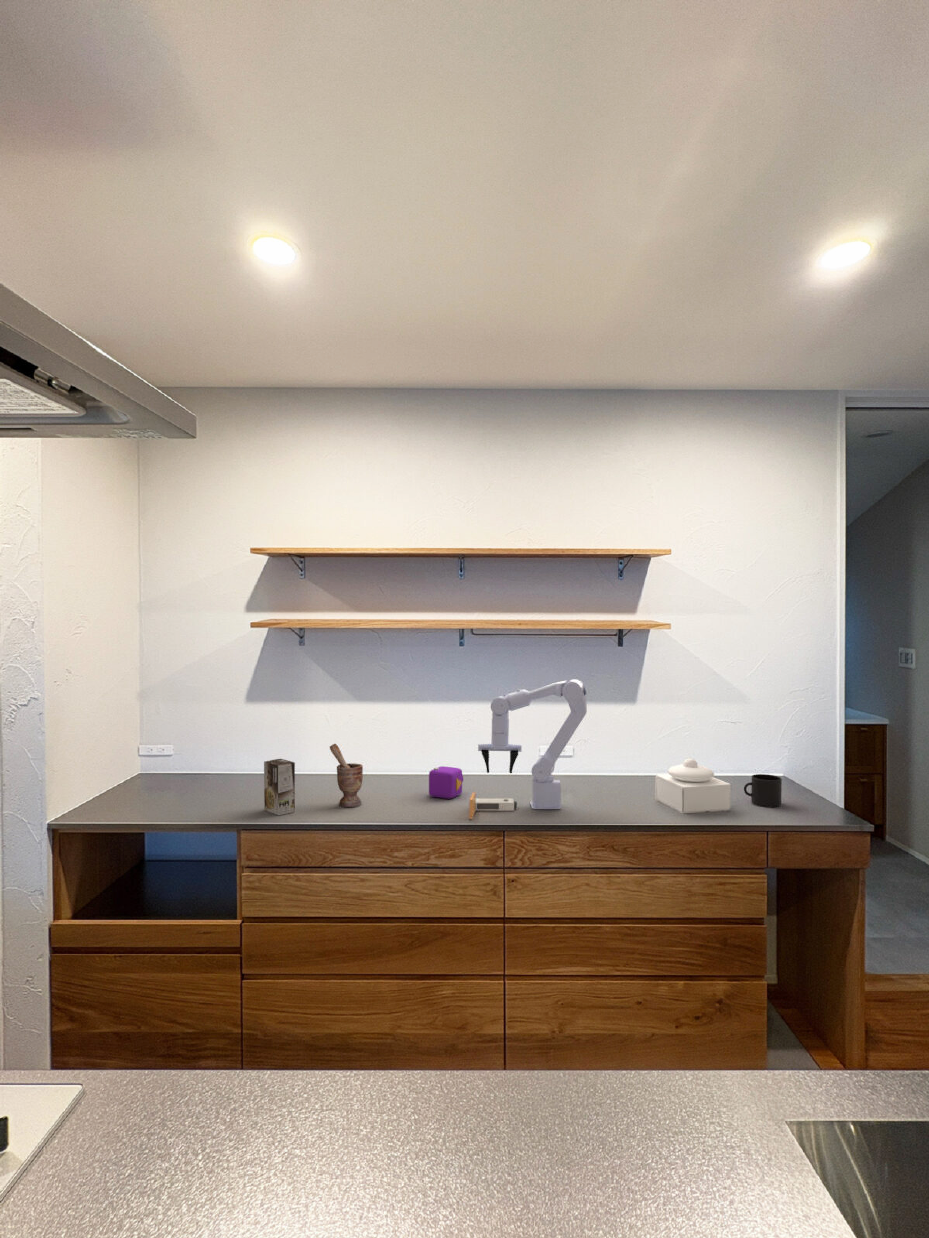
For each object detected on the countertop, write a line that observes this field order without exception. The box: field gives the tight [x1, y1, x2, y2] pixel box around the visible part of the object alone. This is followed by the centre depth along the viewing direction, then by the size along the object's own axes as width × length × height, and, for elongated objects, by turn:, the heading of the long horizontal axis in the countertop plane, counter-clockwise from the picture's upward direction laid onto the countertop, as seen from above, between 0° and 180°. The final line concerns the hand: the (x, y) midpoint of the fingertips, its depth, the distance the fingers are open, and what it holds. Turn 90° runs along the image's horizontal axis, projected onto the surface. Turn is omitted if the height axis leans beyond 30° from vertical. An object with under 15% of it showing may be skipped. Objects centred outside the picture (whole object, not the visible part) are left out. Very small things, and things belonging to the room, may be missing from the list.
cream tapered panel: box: [475, 798, 518, 812], centre depth 241 cm, size 14×5×3 cm, turn 91°
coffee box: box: [263, 758, 296, 816], centre depth 237 cm, size 9×6×16 cm
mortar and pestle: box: [329, 743, 364, 808], centre depth 245 cm, size 12×9×20 cm
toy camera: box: [428, 766, 464, 800], centre depth 258 cm, size 11×14×10 cm
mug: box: [743, 773, 783, 808], centre depth 248 cm, size 9×12×9 cm
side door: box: [468, 791, 477, 820], centre depth 233 cm, size 10×1×6 cm, turn 172°
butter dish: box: [654, 757, 732, 814], centre depth 246 cm, size 18×18×16 cm
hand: (499, 772), depth 247 cm, fingers open, 7 cm apart
